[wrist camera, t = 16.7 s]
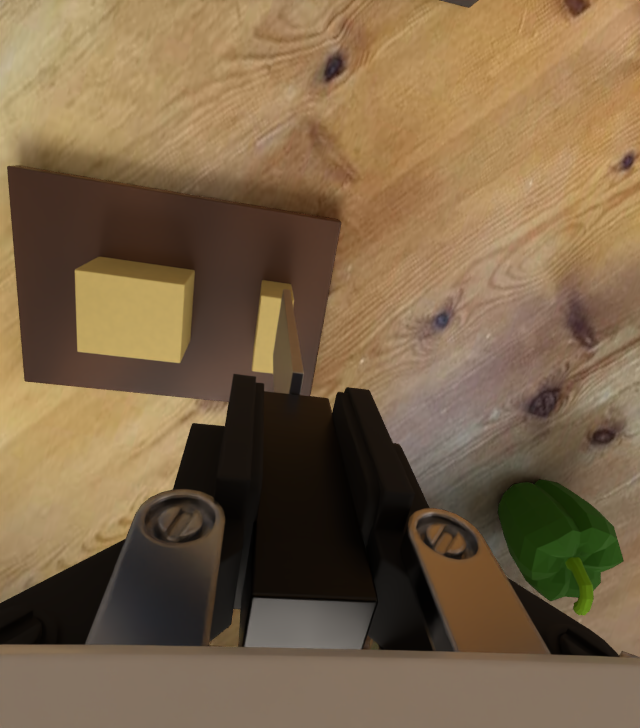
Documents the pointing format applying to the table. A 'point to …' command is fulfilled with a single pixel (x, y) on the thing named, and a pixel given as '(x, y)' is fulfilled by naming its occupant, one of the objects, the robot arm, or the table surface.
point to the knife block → (462, 2)
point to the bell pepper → (558, 540)
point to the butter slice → (267, 324)
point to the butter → (133, 309)
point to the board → (167, 248)
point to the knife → (303, 523)
